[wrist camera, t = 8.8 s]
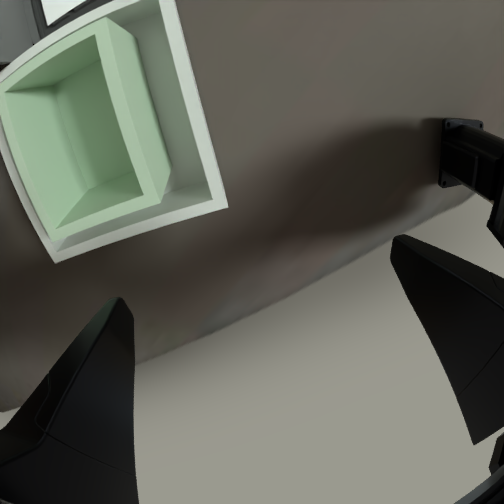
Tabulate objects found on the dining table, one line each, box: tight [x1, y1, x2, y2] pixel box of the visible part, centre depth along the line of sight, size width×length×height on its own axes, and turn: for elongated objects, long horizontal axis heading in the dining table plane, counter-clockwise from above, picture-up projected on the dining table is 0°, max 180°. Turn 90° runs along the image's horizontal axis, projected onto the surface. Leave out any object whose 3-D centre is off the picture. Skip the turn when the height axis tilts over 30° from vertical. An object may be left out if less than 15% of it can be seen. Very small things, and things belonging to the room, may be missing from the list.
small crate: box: [0, 17, 173, 242], centre depth 11 cm, size 6×9×6 cm
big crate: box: [0, 0, 228, 263], centre depth 13 cm, size 12×13×4 cm
